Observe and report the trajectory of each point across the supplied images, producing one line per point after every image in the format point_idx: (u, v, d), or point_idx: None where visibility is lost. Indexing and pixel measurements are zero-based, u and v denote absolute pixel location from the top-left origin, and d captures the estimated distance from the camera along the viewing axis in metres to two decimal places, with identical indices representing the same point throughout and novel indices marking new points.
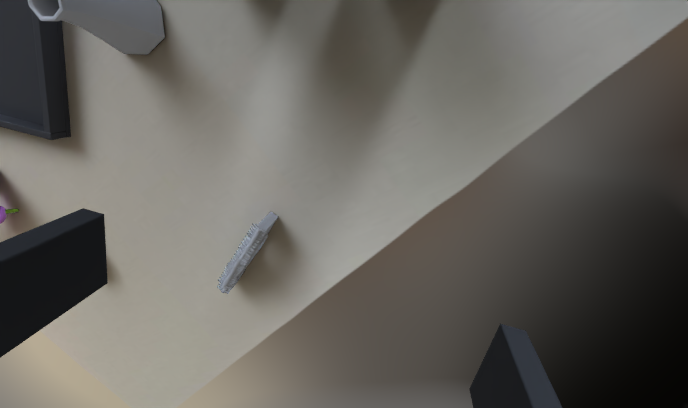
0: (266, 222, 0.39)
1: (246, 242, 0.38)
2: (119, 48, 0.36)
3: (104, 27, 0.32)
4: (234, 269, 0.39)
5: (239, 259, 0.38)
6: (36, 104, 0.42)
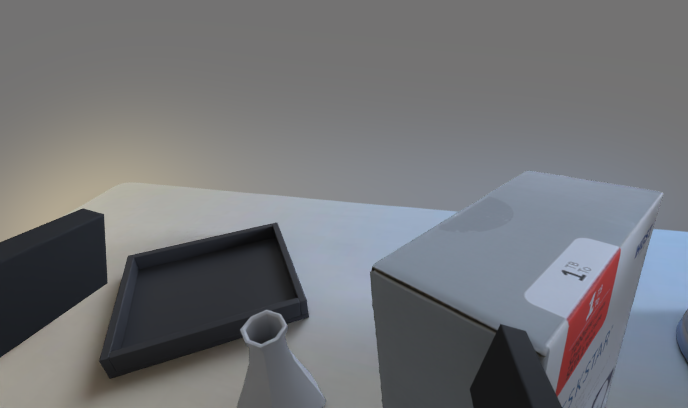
0: None
1: None
2: (241, 404, 0.29)
3: (258, 386, 0.26)
4: None
5: None
6: (147, 334, 0.37)
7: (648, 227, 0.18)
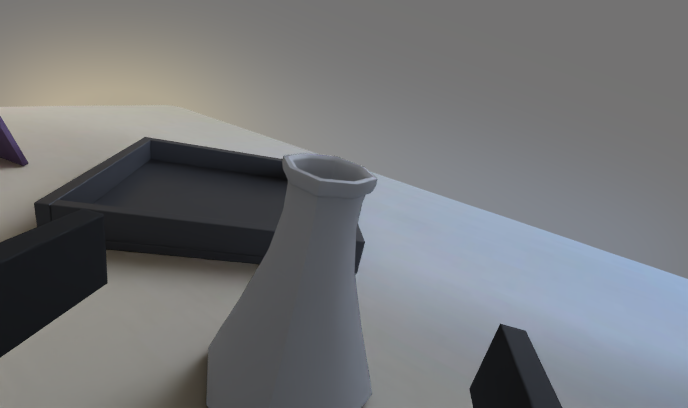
0: None
1: None
2: (221, 336, 0.15)
3: (273, 293, 0.13)
4: None
5: None
6: None
7: None
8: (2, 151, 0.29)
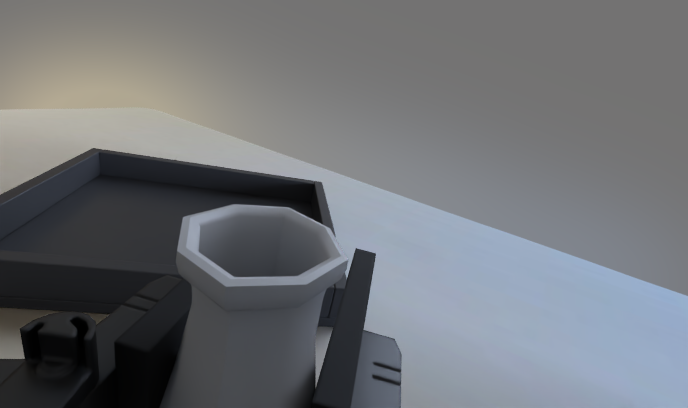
0: None
1: None
2: None
3: None
4: None
5: None
6: (38, 252, 0.19)
7: None
8: None
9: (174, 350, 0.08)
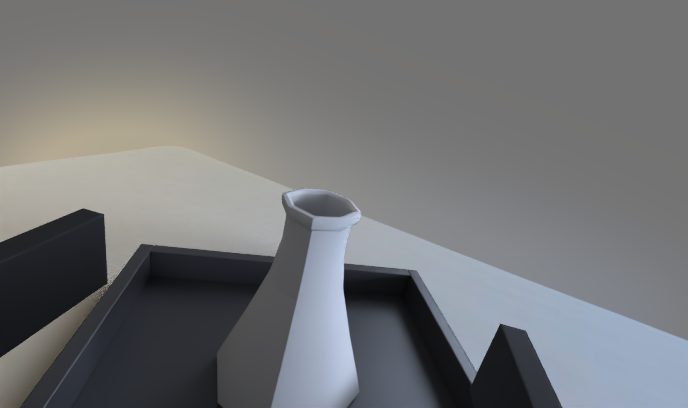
0: None
1: None
2: (229, 343, 0.17)
3: (275, 308, 0.15)
4: None
5: None
6: None
7: None
8: None
9: None
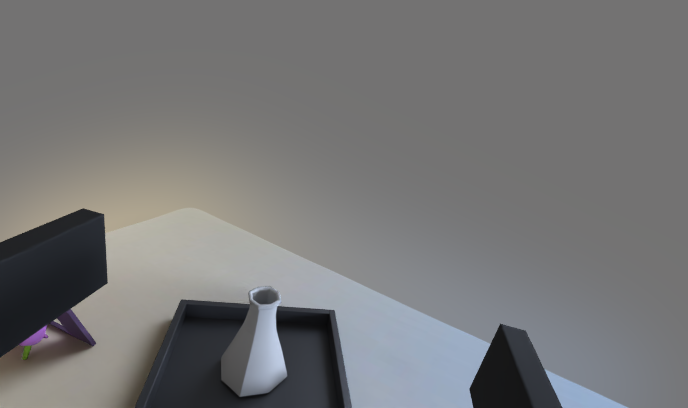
0: None
1: None
2: (226, 353, 0.38)
3: (245, 339, 0.35)
4: None
5: None
6: (177, 406, 0.33)
7: None
8: (76, 335, 0.38)
9: None
